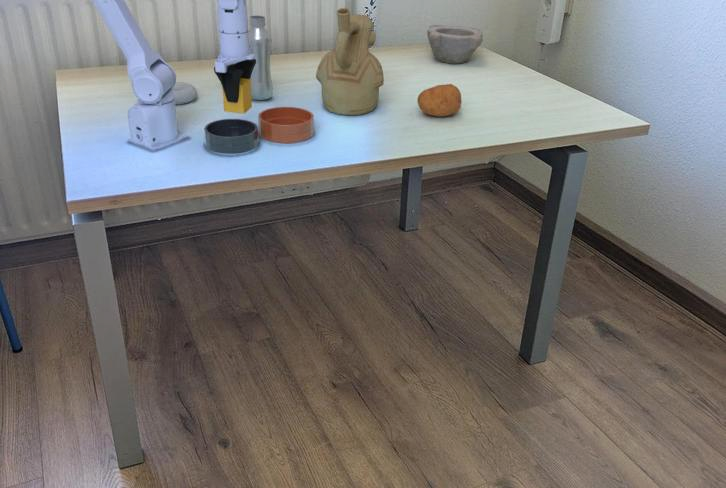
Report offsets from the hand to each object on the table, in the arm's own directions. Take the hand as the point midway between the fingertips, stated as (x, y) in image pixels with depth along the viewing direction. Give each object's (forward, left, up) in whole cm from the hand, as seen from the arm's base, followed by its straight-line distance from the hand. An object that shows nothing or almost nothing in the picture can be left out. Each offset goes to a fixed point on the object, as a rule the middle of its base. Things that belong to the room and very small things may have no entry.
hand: (237, 98), depth 138 cm
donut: (+11, +32, -10) cm, 35 cm away
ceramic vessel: (+34, -4, -10) cm, 36 cm away
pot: (-2, +1, -10) cm, 10 cm away
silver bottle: (+25, +17, -10) cm, 32 cm away
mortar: (+92, -3, -10) cm, 93 cm away
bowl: (+10, -4, -10) cm, 15 cm away
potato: (+44, -24, -10) cm, 52 cm away
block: (0, 0, -2) cm, 2 cm away
